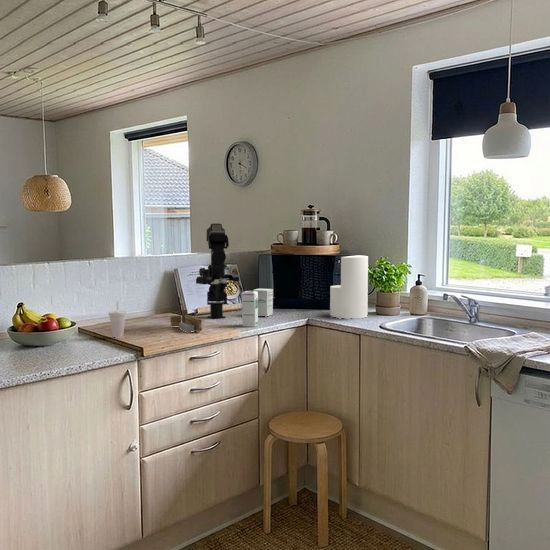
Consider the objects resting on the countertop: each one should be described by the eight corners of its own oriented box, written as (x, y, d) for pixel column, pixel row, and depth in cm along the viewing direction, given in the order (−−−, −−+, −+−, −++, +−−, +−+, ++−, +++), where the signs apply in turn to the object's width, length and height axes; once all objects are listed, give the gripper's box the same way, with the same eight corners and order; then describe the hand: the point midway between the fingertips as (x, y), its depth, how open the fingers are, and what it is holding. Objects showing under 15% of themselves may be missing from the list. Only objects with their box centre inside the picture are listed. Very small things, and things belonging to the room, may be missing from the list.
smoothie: (111, 339, 208) (110, 302, 207) (107, 336, 214) (106, 300, 212) (128, 338, 211) (127, 301, 210) (124, 335, 217) (123, 299, 215)
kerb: (179, 329, 229) (179, 322, 229) (186, 328, 230) (186, 322, 230) (186, 333, 221) (186, 325, 221) (194, 332, 222) (193, 325, 222)
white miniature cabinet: (255, 327, 234) (255, 292, 233) (241, 326, 235) (241, 292, 234) (258, 324, 240) (258, 290, 239) (245, 324, 241) (245, 290, 240)
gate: (188, 326, 234) (188, 314, 233) (202, 331, 222) (202, 319, 221) (184, 326, 233) (184, 315, 233) (197, 331, 221) (197, 319, 220)
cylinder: (373, 315, 265) (374, 255, 262) (358, 320, 250) (358, 257, 248) (340, 312, 274) (340, 255, 272) (323, 317, 259) (323, 256, 257)
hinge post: (170, 327, 233) (170, 310, 233) (186, 326, 237) (186, 309, 236) (172, 328, 232) (171, 311, 231) (188, 326, 235) (188, 310, 234)
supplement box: (252, 316, 262) (252, 289, 261) (259, 314, 269) (259, 288, 268) (267, 317, 259) (267, 290, 258) (273, 315, 266) (273, 288, 265)
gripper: (223, 260, 246) (223, 295, 247) (187, 262, 233) (188, 299, 234) (240, 261, 238) (240, 298, 239) (203, 263, 225) (204, 302, 226)
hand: (218, 299), depth 235 cm, fingers closed
